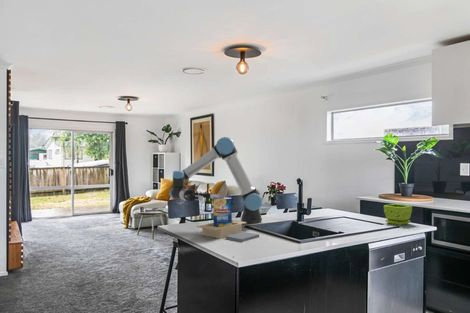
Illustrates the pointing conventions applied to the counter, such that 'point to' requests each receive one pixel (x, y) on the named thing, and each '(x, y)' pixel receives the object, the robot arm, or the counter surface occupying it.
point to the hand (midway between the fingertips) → (210, 197)
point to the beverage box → (222, 211)
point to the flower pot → (398, 213)
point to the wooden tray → (222, 229)
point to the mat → (242, 236)
